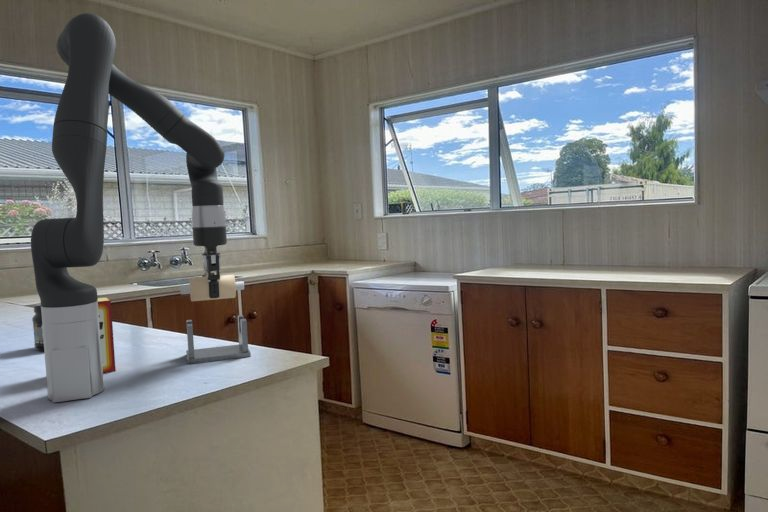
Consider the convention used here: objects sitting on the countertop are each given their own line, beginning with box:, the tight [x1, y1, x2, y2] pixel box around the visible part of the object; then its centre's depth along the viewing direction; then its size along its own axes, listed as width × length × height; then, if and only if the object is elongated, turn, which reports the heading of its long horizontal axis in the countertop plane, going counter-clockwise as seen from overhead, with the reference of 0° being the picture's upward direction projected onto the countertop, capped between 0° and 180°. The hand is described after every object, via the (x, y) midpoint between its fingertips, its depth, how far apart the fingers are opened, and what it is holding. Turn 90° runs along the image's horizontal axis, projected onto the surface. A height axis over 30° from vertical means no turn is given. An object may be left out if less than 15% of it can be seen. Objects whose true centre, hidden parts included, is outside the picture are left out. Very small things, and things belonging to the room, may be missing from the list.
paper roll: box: [179, 274, 245, 302], centre depth 127 cm, size 14×6×6 cm, turn 112°
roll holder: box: [186, 314, 252, 365], centre depth 128 cm, size 10×14×8 cm
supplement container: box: [31, 302, 44, 352], centre depth 144 cm, size 10×10×12 cm
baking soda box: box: [98, 296, 117, 374], centre depth 117 cm, size 10×6×16 cm
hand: (213, 296), depth 128 cm, fingers closed on paper roll, 5 cm apart
